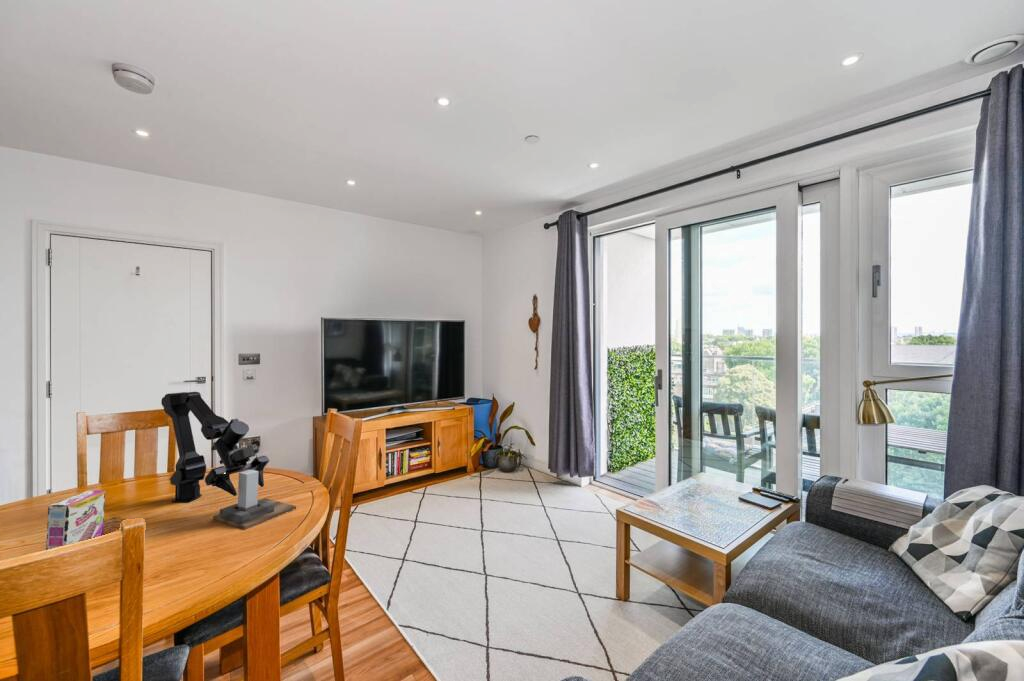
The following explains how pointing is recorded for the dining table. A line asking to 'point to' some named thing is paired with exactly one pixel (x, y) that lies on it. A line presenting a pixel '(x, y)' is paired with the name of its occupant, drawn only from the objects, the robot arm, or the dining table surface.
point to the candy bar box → (75, 519)
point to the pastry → (112, 524)
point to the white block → (248, 490)
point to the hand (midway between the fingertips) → (249, 490)
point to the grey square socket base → (253, 513)
